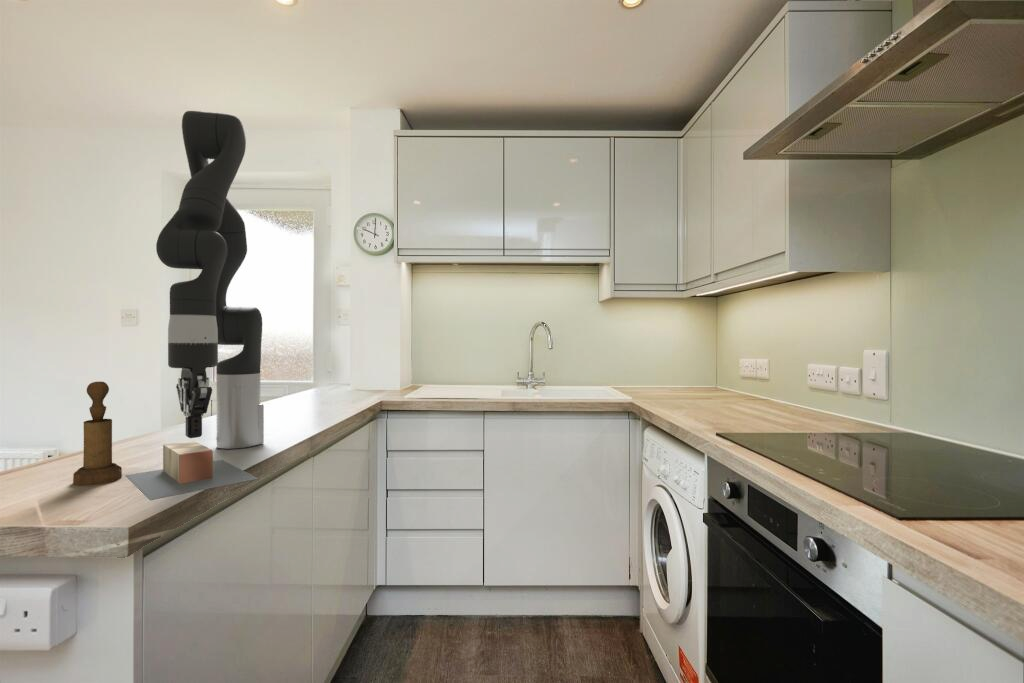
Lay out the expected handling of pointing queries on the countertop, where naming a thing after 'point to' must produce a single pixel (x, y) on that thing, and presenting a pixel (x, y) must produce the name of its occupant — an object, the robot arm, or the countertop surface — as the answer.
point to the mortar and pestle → (97, 443)
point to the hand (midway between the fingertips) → (193, 436)
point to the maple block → (187, 461)
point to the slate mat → (165, 485)
